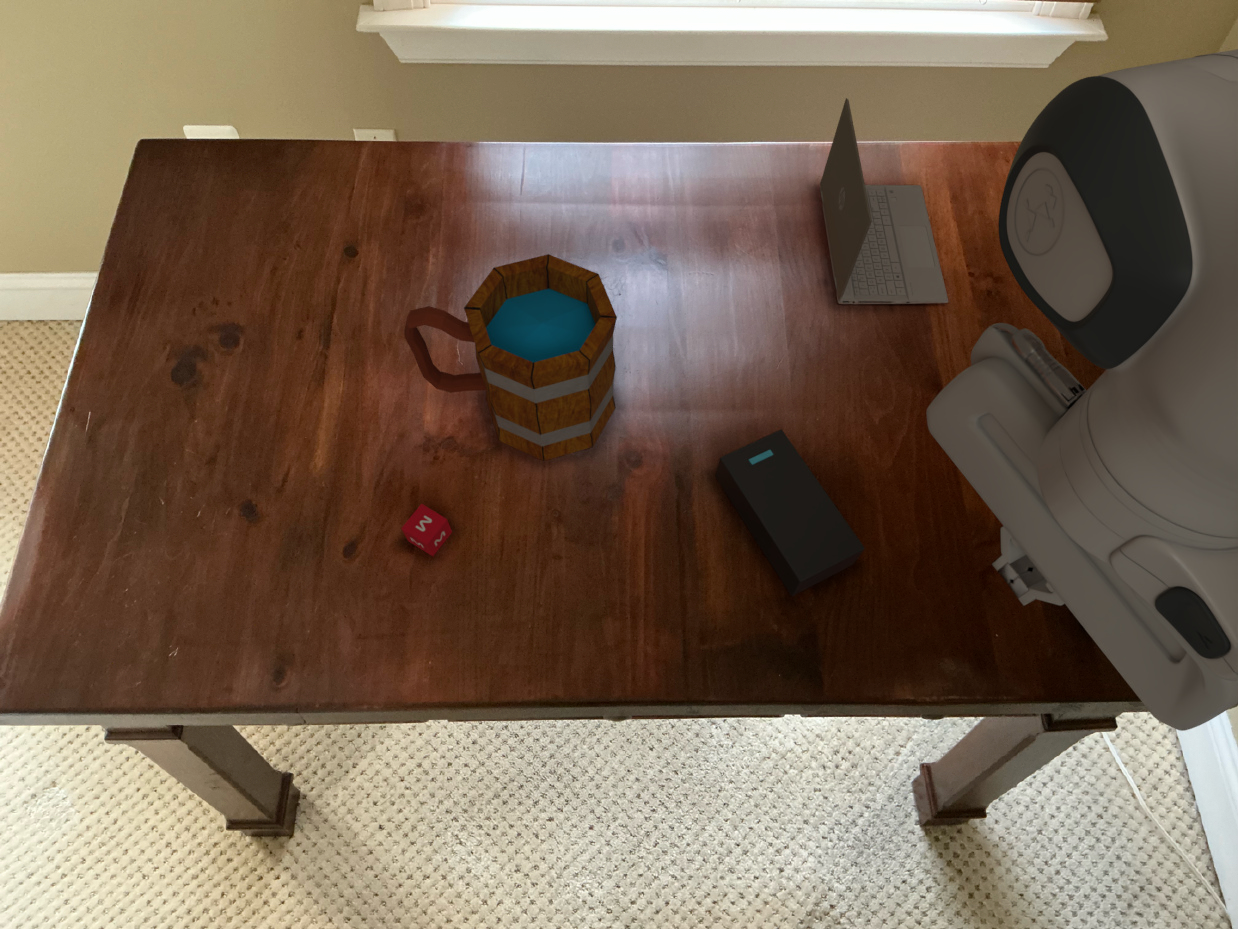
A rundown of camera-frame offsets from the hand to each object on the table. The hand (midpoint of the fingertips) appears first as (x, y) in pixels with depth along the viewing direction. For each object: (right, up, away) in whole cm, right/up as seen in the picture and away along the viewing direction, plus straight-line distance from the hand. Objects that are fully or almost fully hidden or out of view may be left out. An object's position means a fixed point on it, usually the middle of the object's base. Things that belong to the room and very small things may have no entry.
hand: (1016, 580), depth 49 cm
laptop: (+7, +32, +48) cm, 59 cm away
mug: (-34, +13, +37) cm, 52 cm away
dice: (-41, 0, +30) cm, 51 cm away
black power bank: (-4, -3, +27) cm, 27 cm away
